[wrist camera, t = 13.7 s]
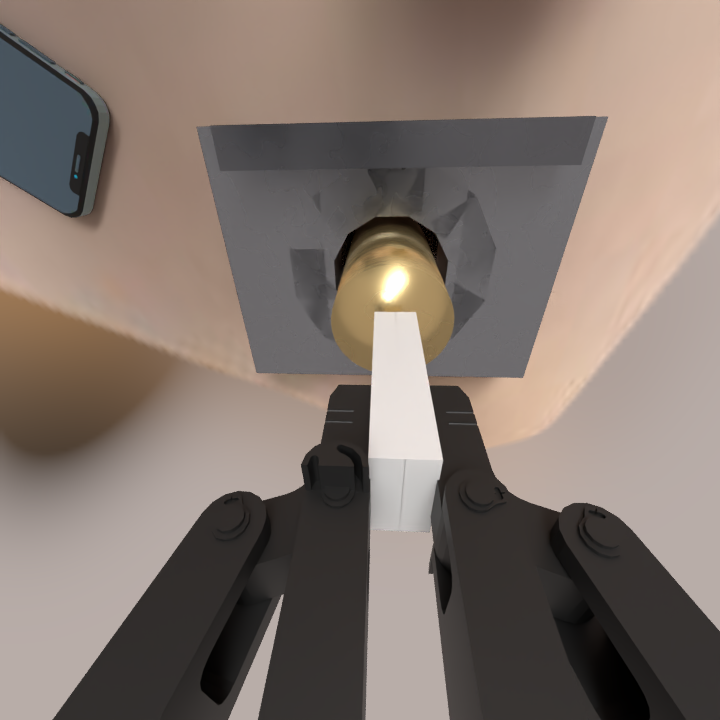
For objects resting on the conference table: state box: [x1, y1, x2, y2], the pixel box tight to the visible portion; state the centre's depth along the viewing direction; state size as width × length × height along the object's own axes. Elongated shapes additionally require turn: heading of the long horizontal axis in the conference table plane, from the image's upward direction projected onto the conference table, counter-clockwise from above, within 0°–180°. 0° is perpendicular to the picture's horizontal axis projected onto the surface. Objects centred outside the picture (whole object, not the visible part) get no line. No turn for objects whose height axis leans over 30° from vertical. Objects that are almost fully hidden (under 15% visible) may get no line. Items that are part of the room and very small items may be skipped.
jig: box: [197, 116, 608, 378], centre depth 19 cm, size 18×14×6 cm
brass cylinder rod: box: [331, 216, 454, 371], centre depth 18 cm, size 5×5×10 cm
